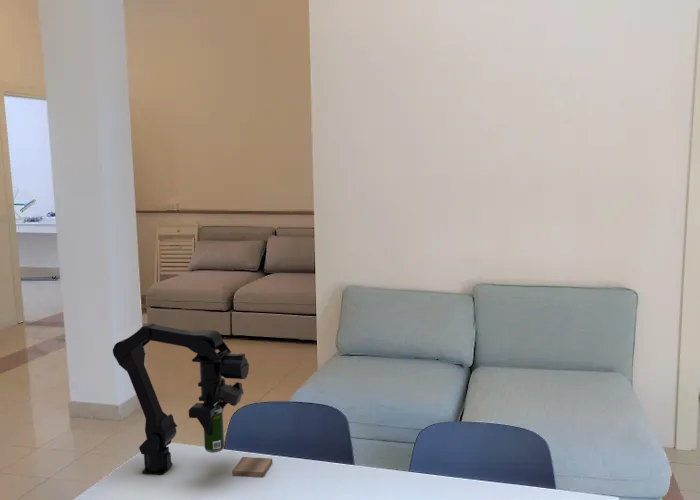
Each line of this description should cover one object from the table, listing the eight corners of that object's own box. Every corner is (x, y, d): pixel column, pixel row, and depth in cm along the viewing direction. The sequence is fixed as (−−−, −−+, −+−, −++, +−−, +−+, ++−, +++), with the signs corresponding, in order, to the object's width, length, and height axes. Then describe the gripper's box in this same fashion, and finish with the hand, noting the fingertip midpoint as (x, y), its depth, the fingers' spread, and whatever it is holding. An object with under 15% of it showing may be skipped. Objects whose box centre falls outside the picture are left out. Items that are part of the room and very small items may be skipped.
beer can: (227, 449, 180) (225, 407, 179) (210, 454, 177) (208, 412, 175) (218, 443, 184) (216, 403, 183) (201, 448, 181) (199, 407, 179)
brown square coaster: (232, 477, 180) (232, 470, 180) (243, 463, 189) (242, 456, 189) (263, 479, 179) (263, 472, 179) (272, 465, 188) (272, 458, 187)
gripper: (226, 388, 168) (229, 446, 169) (249, 368, 186) (251, 420, 187) (186, 387, 169) (189, 444, 171) (213, 367, 188) (215, 418, 189)
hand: (213, 431), depth 180 cm, fingers closed on beer can, 5 cm apart
